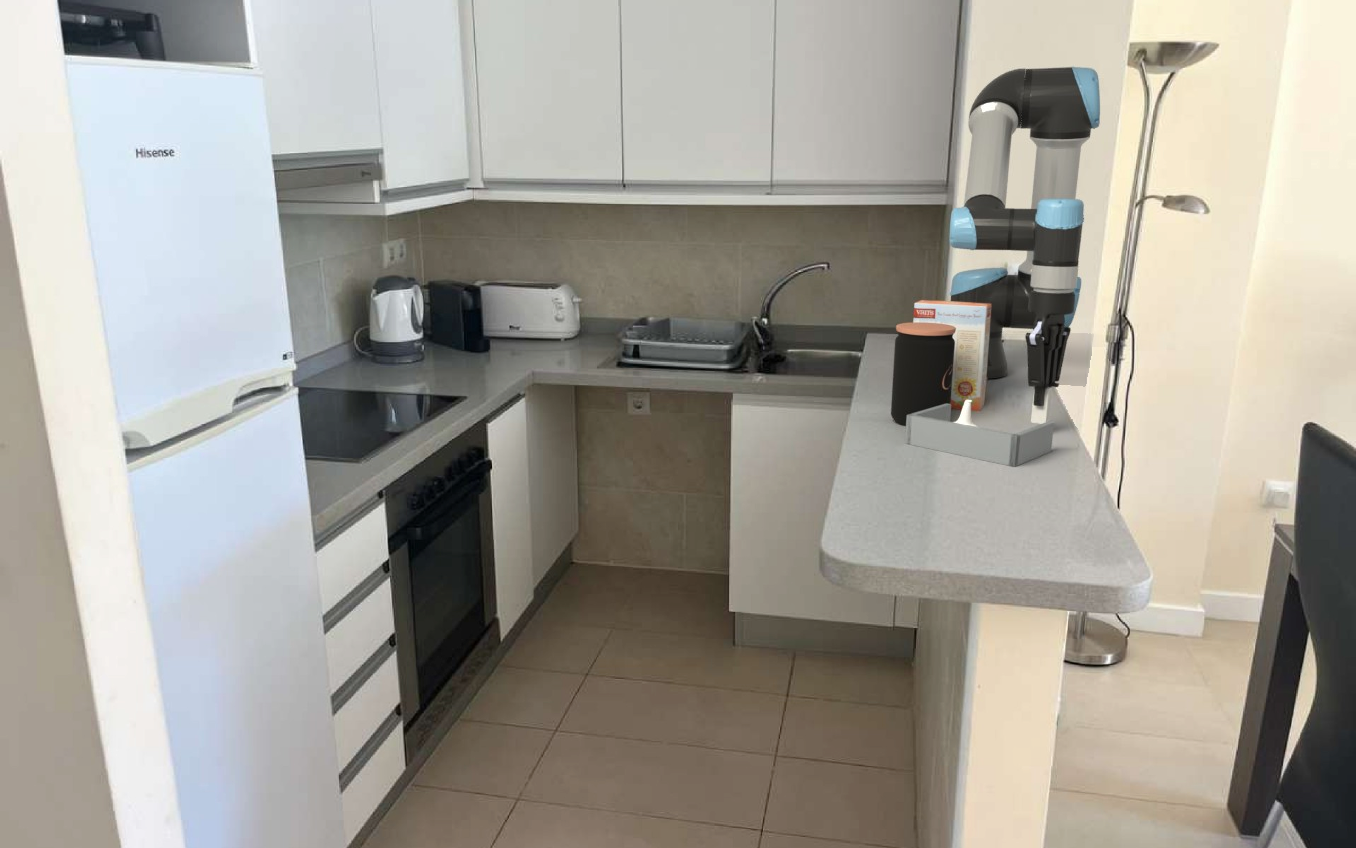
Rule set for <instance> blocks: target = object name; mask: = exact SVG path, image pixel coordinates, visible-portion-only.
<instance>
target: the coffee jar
mask: <svg viewBox="0 0 1356 848" xmlns="http://www.w3.org/2000/svg"><path fill="white" fill-rule="evenodd" d="M895 330H896V332H897V336H896V338H895V339H894V353H893V371H892V388H891V389H892V390H891V404H890V407H891V408H890V416H891V417H892V419H893V421H894V423H896V424H897V425H900V426H902V427H906V421H907V415H909V414H912V413H915V412H919V411H922V410H926V409H929V408H932V407H936V406H939V405H943V404H946V403H947V404H951V390H952V377H953V363H954V349H955V340H954V339H953V338H952V337H953V334H954V333H955V331H956V328H955V327H954V326H951V325H946V324H939V323H925V322H913V321H912V322H903V323H898V324H897V325H896V326H895Z"/></svg>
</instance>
